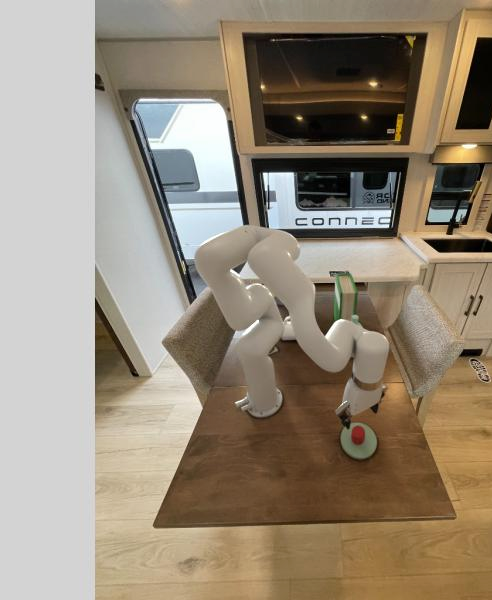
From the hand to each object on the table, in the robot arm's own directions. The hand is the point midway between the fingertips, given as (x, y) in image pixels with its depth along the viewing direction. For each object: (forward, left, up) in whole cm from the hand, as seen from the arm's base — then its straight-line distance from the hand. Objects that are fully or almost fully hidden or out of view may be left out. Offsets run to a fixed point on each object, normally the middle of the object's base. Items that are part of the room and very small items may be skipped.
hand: (359, 417), depth 75 cm
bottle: (+22, +32, -12) cm, 40 cm away
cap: (0, 0, -11) cm, 11 cm away
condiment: (-10, +52, -12) cm, 55 cm away
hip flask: (+14, +81, -12) cm, 83 cm away
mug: (+4, +53, -12) cm, 55 cm away
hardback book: (+29, +49, -12) cm, 59 cm away
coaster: (0, -1, -12) cm, 12 cm away
